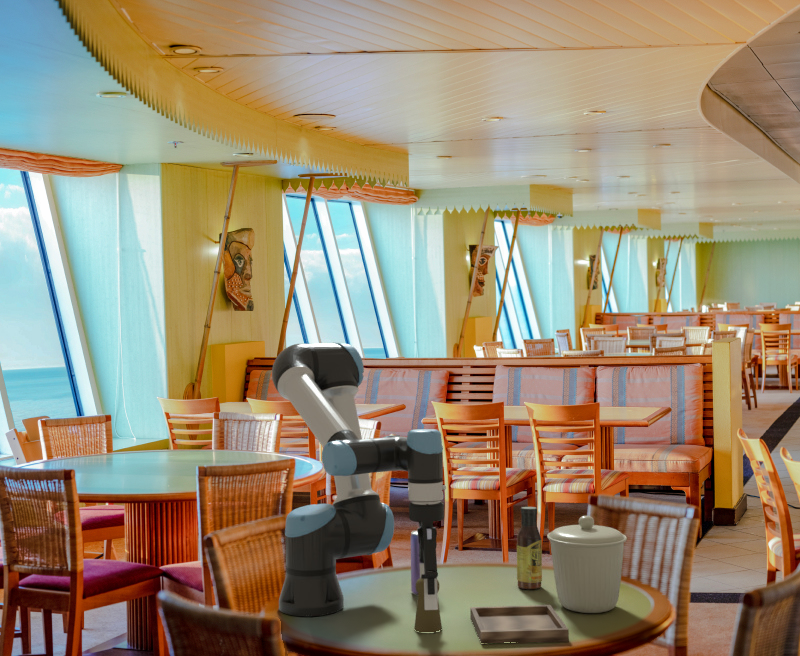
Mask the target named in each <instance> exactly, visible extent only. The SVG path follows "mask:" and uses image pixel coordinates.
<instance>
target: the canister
mask: <svg viewBox="0 0 800 656" xmlns="http://www.w3.org/2000/svg"><path fill="white" fill-rule="evenodd" d="M546 535H547V536H546V537H547V539H548V540H549V542H550V543H549V544H550V551H551V558H552V559H551V560H552V567H553V575H554V582H555V589H556V594H557V599H558V601H559V603H560V604H561V606H562V607H564V608H565V609H567V610H569V611H572V612H576V613H583V614H601V613H605V612H608V611H611V610H614V608H615V607H616V605H617V603H618V601H619V597H620V591H621V590H620V589H621V580H622V572H623V571H622V570H623V561H624V559H623V558H624V548H625V547H624V546H625V543H626V541H627V539H628V538H627V536H626V535H625V534H623V533H622V532H621V531H619V530H618V529H616V528H614V527H609V526H604V525H597V524H595V520H594V518H593V517H592V516H590V515H582V516H580V517H579V518H578V524H571V525H563V526H559V527H556V528H554V530H552V531H550V532H548V533H547V534H546Z"/></svg>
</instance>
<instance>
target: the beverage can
mask: <svg viewBox="0 0 800 656" xmlns="http://www.w3.org/2000/svg"><path fill="white" fill-rule="evenodd" d="M410 533H411V534H410V583H411V585H410V590H411V593H412V594H413V595H414V594H415V595H414V596H417V595H418V593H417V591H416V586H415V585H416V581H417V580H418V579H419V578H420V563H422V562H420V561H419V559H420V558H419V542H418V533H417V529H416V530H412V531H411V532H410Z"/></svg>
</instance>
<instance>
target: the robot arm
mask: <svg viewBox="0 0 800 656" xmlns="http://www.w3.org/2000/svg"><path fill="white" fill-rule="evenodd" d="M364 371H365V370H364V363H363V359H362V356H361V354H360V353H359V351H358V350H357V349H356V348H355V347H354V346H352V345H351V344H349V343H340V342H332V343H295V344H292V345H290V346H287V347H286V348H284V349H283V350H281V351H280V353H279V354H278V355H277V357H276V358H275V360H274V361H273V364H272V369H271V380H272V384H273V385H274V388H275V389H276V391H277V393H278V394H279V395H280V396H281V397H282V398H283V399H285V400H288V401H289V402H290V403H291V404H292V407H293V408H294V409H295V411H297V413H298V414H299V416H300V417H301V419H302V420H303V421H304V423H305V424H306V426H307V427H308V428H309V430H310V432H312V434H313V435H314V437H315V438H316V439H317V441H318V442H319V444H320V445H321V446H322V448H323V449H322V452H321V462H322V464H323V469H324V471H325V472H326V473H327V474H328V475H330V476H332V477H333V478H334V484H335V490H336V495H337V496H336V498H335V499H334V501H333V503H332V504H331V503H317V504H315V503H314V504H308V505H304V506H300V507H297V508H295V509H292V510H291V511H290V512H289V513H288V514H287V515H286V518H285V526H284V527H285V529H284V535H285V568H286V569H285V578H284V581H283V585H282V587H281V588H282V589H281V592H280V595H279V599H278V610H279V612H280V613H283V614H285V615H289V616H294V617H317V616H318V617H319V616H325V615H331V614H334V613H337V612H339V611H341V610H342V609H344V606H345V605H344V604H345V603H344V602H345V601H344V600H345V599H344V594H343V591H342V588H341V585H340V582H339V579H338V575H337V572H336V571H337V570H336V568H337V567H336V565H337V564H336V563H337V560H339V559H345V558H353V557H358V556H371V555H374V554H377V553H382V552H384V551H385V550H386V549H388V547H389V546H390V545H391V543H392V539H393V537H394V533H395V518H394V514H393V511H392V509H391V508H390V506H389V505H388V504H386V503H384V502H382V501H381V498H380V495H379V493H378V492H376V491H374V490H373V488H372V484H371V478H370V474H372V473H384V472H385V473H386V472H393V471H395V472H396V471H404V472H407V473H408V474H407V478H408V480H407V481H408V482H407V483H408V484H407V486H408V487H407V489H408V490H407V493H408V496H407V497H408V498H407V499H408V500H409V501H410V502H409V504H408V516H409V517H408V518H409V520H410V521H412V522H416V523H418V527H417V528H416V530H417V533H418V542H419V558H420V559H419V561H420V562H422V563H420V578H421V579H424V605H425V610H438V604H439V598H438V593H437V580H438V576H439V573H438V562H437V561H438V560H437V545H438V544H437V536H438V531H437V529H436V528H437V527H434V522H439V521H442V520H444V518H445V506H444V505H445V504H444V503H443V499H444V490H446V489H447V487H446V485H443V484H444V481H443V480H444V465H443V464H444V461H443V457H444V456H443V455H444V454H443V451H444V447H443V441H442V440H443V439H442V433H441V431H440V430H438V429H435V428H434V429H433V428H432V429H429V428H421V429H420V428H419V429H417V428H416V429H411V430H409V431H408V432H407V434H406V435H407V436H402V435H400V434H399V435H398V434H397V435H396V434H395V435H387V436H383V437H376V438H363V436H362V433H361V427H360V421H359V415H358V410H357V407H356V401H355V396H356V395H357V393H359V386H360V385H361V384H362V383H363V380H364Z"/></svg>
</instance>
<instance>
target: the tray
mask: <svg viewBox="0 0 800 656" xmlns="http://www.w3.org/2000/svg"><path fill="white" fill-rule="evenodd" d="M469 612H470V620H472V621H471V623H472V622H473V623H472V625H474V626H473V628H474V627H475V628H474V630H475V632H477V633H476V635H477V634H478V635H477V637H479V638H478V639H480V640H479V642H480V641H481V643H504V642H510V643H511V642H516V643H515V644H530V643H529V642H546V643H569V641H570V640H569V639H570V638H569V637H570V635H569V634H570V633H569V632H570V631H569V628H568V627H567V625H566V624H565V623H564V621H563V620H562V618H561V617H560V616H559V615H558V613H557V612H556V611H555V609H554V608H553V606H552V605H551V604H541V605H540V604H535V605H534V604H533V605H505V606H504V605H503V606H501V605H500V606H499V605H498V606H493V605H492V606H470V611H469ZM517 642H518V643H517ZM481 643H480V644H481Z"/></svg>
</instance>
